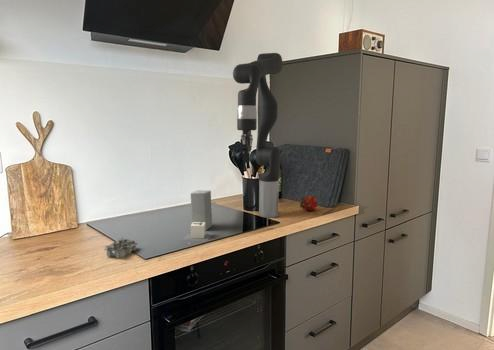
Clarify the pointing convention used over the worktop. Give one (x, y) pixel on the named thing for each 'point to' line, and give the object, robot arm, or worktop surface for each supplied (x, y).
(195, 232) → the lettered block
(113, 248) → the grey lumpy piece
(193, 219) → the skincare box
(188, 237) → the reading mat
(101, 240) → the worktop surface
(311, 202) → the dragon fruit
